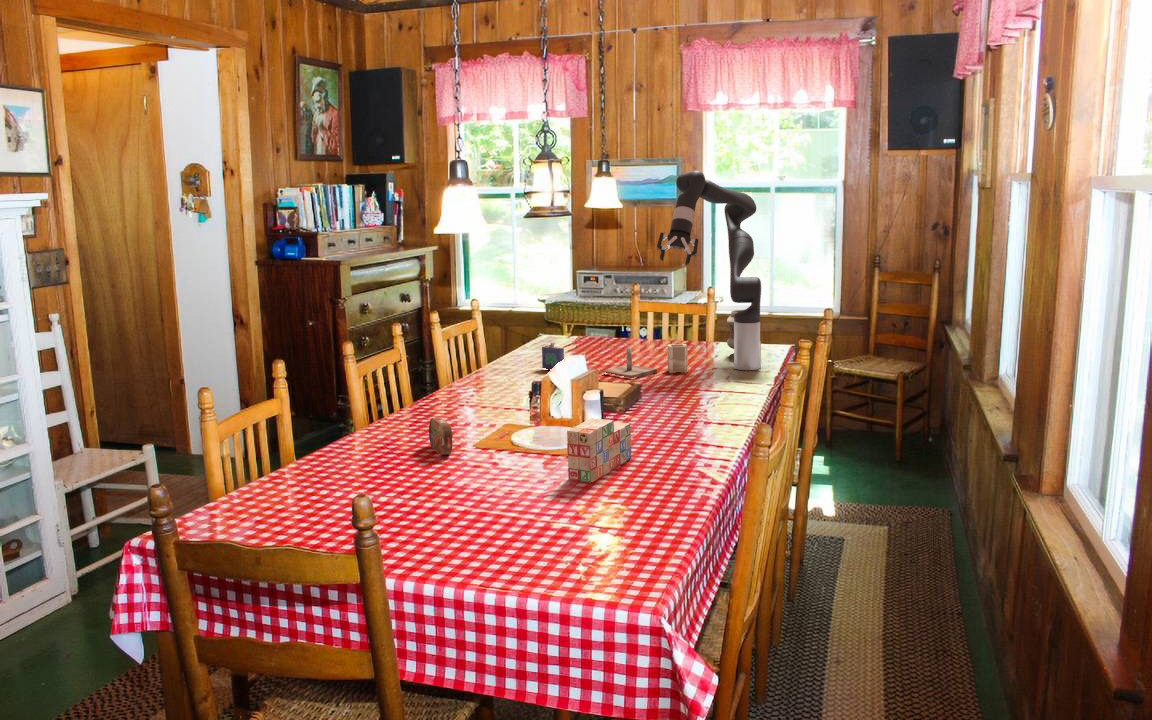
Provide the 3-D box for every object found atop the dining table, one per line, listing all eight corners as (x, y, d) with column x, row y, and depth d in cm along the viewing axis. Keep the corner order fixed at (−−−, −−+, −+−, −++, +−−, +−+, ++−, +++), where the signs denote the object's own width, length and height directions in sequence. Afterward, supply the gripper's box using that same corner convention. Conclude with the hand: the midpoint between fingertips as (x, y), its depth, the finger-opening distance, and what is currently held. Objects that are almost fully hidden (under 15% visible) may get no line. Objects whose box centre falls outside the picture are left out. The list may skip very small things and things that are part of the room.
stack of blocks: (610, 455, 239) (609, 409, 237) (632, 458, 236) (631, 411, 234) (568, 480, 221) (566, 429, 219) (591, 483, 218) (589, 432, 216)
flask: (565, 370, 346) (564, 342, 344) (561, 372, 344) (560, 343, 342) (544, 369, 351) (543, 340, 349) (540, 370, 348) (539, 342, 346)
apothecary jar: (735, 352, 372) (735, 307, 368) (763, 355, 365) (764, 309, 361) (721, 357, 362) (721, 311, 359) (750, 360, 355) (750, 313, 352)
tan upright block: (667, 370, 342) (667, 344, 340) (685, 369, 342) (685, 344, 340) (670, 372, 337) (669, 347, 335) (687, 372, 337) (687, 346, 335)
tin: (428, 445, 254) (426, 415, 252) (439, 443, 255) (438, 413, 253) (443, 459, 240) (441, 427, 239) (455, 457, 241) (453, 426, 240)
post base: (627, 368, 347) (627, 343, 345) (656, 373, 337) (656, 347, 335) (602, 374, 337) (601, 348, 335) (631, 379, 327) (631, 353, 326)
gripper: (701, 230, 338) (693, 271, 333) (662, 223, 339) (653, 263, 335) (702, 221, 331) (694, 262, 326) (663, 214, 332) (654, 255, 328)
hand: (674, 263), depth 330 cm, fingers open, 8 cm apart
